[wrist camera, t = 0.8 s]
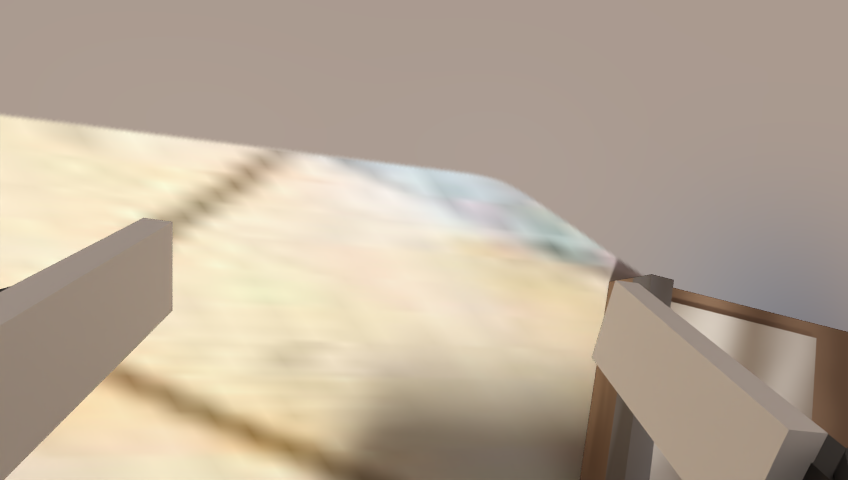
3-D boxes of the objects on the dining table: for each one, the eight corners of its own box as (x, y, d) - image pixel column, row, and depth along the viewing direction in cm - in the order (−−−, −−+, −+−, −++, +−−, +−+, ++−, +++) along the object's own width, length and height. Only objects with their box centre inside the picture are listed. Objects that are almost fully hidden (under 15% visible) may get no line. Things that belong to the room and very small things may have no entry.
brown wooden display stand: (841, 340, 34) (921, 343, 29) (832, 549, 31) (918, 591, 26) (609, 281, 33) (652, 274, 28) (577, 494, 30) (618, 527, 25)
